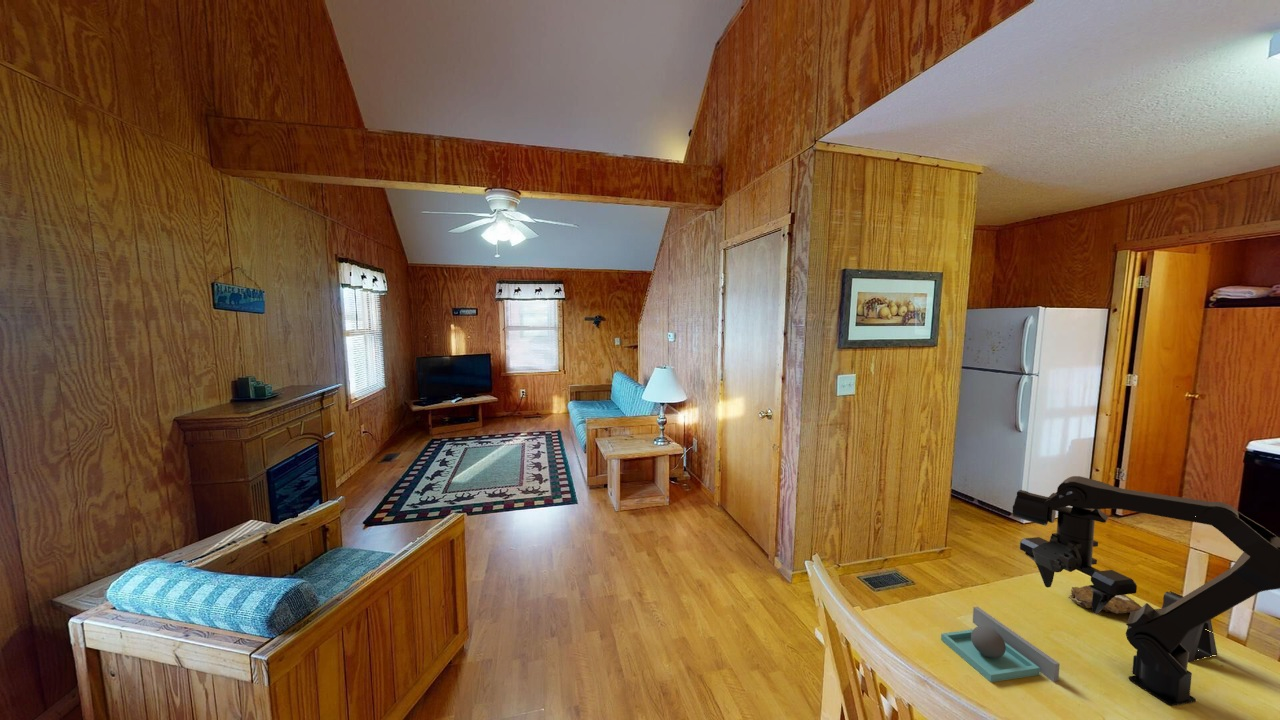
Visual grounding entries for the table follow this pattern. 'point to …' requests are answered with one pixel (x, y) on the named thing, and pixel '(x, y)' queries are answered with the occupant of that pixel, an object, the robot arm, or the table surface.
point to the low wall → (1019, 644)
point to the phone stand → (1195, 634)
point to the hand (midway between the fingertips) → (1070, 599)
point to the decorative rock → (1115, 605)
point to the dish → (990, 668)
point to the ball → (988, 642)
